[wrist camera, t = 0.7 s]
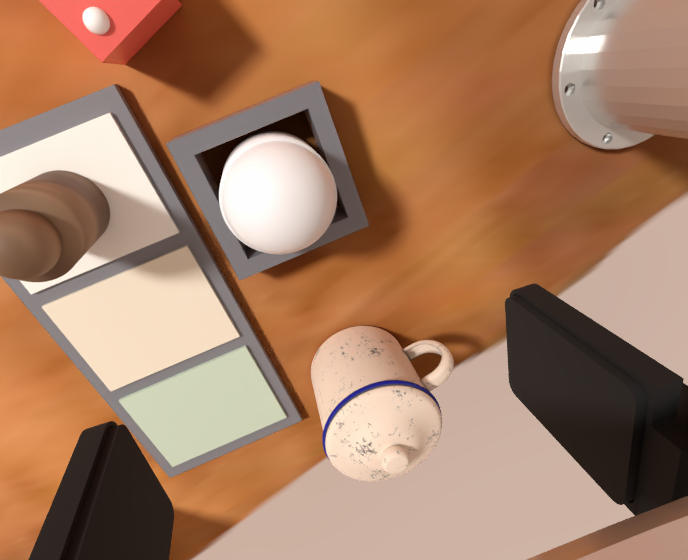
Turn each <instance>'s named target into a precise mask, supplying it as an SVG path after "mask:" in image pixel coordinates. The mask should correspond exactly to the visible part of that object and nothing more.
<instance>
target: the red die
mask: <svg viewBox="0 0 688 560" xmlns="http://www.w3.org/2000/svg"><path fill="white" fill-rule="evenodd" d="M39 1H40V2H41V3H42V4H43V5H44V6H45V7H46V8H47V9H48V10H49V11H50V12H51V13H52V14H53V15H54V16H55V17H56V18H57V19H58V20H59V21H60V22H61V23H62V24H63V25H64V26H65V27H66V28H67V29H68V30H69V31H70V32H72V33H73V34H74V35H75V36H76V37H77V38H78V39H79V40H80V41H81V42H82V43H83V44H84V45H85V46H86V47H87V48H88V49H89V50H90V51H91V52H92V53H93V54H94V55H95V56H96V57H97V58H98V59H99V60H100V61H101V62H104V63H113V64H122V65H126V64H127V62H128V61H129V60H130V59H131V58H132V57H133V56H134V55H135V54H136V53H137V52H138V51H139V50H140V49H141V48H142V47H143V46H144V45H145V44H146V43H147V42H148V41H149V40H150V39H151V38H152V37H153V35H154V34H155V33H156V32H157V31H158V30H159V29H160V28H161V27H162V26H163V25H164V24H165V23H166V22H167V21H168V20H169V19H170V18H171V17H172V16H173V15H174V14H175V13H176V12H177V11H178V10H179V8H180V7H181V6H182V4H181V3H180V2H179V1H178V0H39Z"/></svg>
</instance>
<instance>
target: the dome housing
mask: <svg viewBox="0 0 688 560" xmlns="http://www.w3.org/2000/svg"><path fill="white" fill-rule="evenodd" d="M303 110H304V112H305V114H306V117H307V120H308V122H309V125H310V128H311V130H312V133H313V136H314V138H315V141H316V144H317V146H318V149H319V152H320V154H321V157H322V159H323V160H324V161H325V162H326V164H327V165H328V167H329V169H330V170H331V172H332V175H333V177H334V180H335V183H336V189H337V199H338V202H339V205H340V206H339V207H337V208H336V210H335V214H334V217H333V219H332V222H331V223H330V225H329V227H328V229H327V230H326V231H325V233H324V234H323V235H322V236H321V237H320V238H319V239H318V240H317V241H316V242H314V243H313V244H311V245H310V246H308V247H306V248H304V249H302V250H300V251H297V252H293V253H289V254H269V253H264V252H260V251H257V250H255V249H253V248H251V247H249V246H247V245H245V244H244V243H243V242H241V241H240V240H239V239H238V238H237V237H236V236H235V235H234V234H233V233H232V232H231V230H230V229H229V228H228V226H227V224H226V223H225V221H224V218H223V216H222V213H221V209H220V204H219V188H218V186H217V184H216V182H215V180H214V178H213V176H212V174H211V172H210V170H209V168H208V166H207V164H206V162H205V160H204V158H203V156H202V154H201V152H203V151H206V150H208V149H211V148H213V147H216V146H218V145H221V144H223V143H225V142H228V141H230V140H233V139H235V138H238V137H240V136H242V135H245V134H247V133H250V132H252V131H255V130H257V129H259V128H262V127H264V126H267V125H269V124H272V123H274V122H276V121H279V120H281V119H284V118H286V117H289V116H291V115H293V114H296V113H298V112H301V111H303ZM166 145H167V147H168V149H169V151H170V153H171V154H172V156H173V158H174V160H175V162H176V164H177V166H178V167H179V169H180V171H181V173H182V175H183V177H184V178H185V180H186V182H187V184H188V186H189V188H190V190H191V191H192V193H193V195H194V197H195V199H196V201H197V203H198V204H199V206H200V208H201V210H202V212H203V214H204V216H205V217H206V219H207V221H208V223H209V225H210V227H211V228H212V230H213V232H214V234H215V236H216V238H217V240H218V241H219V243H220V245H221V247H222V249H223V251H224V253H225V254H226V256H227V258H228V260H229V262H230V264H231V266H232V267H233V269H234V271H235V273H236V275H237V277H238V279H239V280H242V279H244V278H247V277H249V276H252V275H254V274H256V273H259V272H261V271H263V270H266V269H268V268H271V267H273V266H275V265H278V264H280V263H282V262H285V261H287V260H289V259H292V258H294V257H297V256H299V255H301V254H304V253H306V252H308V251H311V250H313V249H316V248H318V247H320V246H323V245H325V244H327V243H330V242H332V241H334V240H337V239H339V238H342V237H344V236H346V235H349V234H351V233H353V232H356V231H358V230H361V229H363V228H365V227H368V226H369V223H368V220H367V217H366V214H365V212H364V209H363V206H362V203H361V200H360V197H359V195H358V192H357V189H356V186H355V183H354V180H353V177H352V175H351V172H350V169H349V166H348V163H347V160H346V157H345V155H344V152H343V149H342V146H341V143H340V140H339V137H338V135H337V132H336V129H335V126H334V123H333V120H332V117H331V115H330V112H329V109H328V106H327V103H326V100H325V97H324V95H323V92H322V89H321V86H320V83H319V81H311V82H308V83H306V84H303V85H301V86H298V87H296V88H294V89H291V90H289V91H286V92H284V93H281V94H279V95H276V96H274V97H272V98H269V99H267V100H264V101H262V102H259V103H257V104H254V105H252V106H250V107H247V108H245V109H242V110H240V111H237V112H235V113H233V114H230V115H228V116H225V117H223V118H220V119H218V120H215V121H213V122H211V123H208V124H206V125H203V126H201V127H198V128H196V129H193V130H191V131H189V132H186V133H184V134H181V135H179V136H176V137H174V138H172V139H171V140H170V141H169V142H168V143H166Z"/></svg>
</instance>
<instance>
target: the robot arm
mask: <svg viewBox="0 0 688 560" xmlns="http://www.w3.org/2000/svg"><path fill="white" fill-rule="evenodd" d="M552 91H553V99H554V103H555V107H556V111H557V114H558V116H559V118H560V120H561V122H562V124H563V125H564V127H565V128H566V129H567V130H568V132H569V133H570V134H571V135H572V136H573V137H575V138H576V139H577V140H579V141H580V142H582V143H584V144H587V145H590V146H592V147H597V148H602V149H622V148H627V147H631V146H634V145H636V144H639V143H641V142H643V141H646V140H647V139H649V138H650V137H652V136H654V135H662V136H670V137H677V138H684V139H688V0H581V1H580V3H579V4H578V5H577V7H576V8H575V9H574V11H573V13H572V15H571V16H570V18H569V20H568V22H567V23H566V25H565V28H564V30H563V33H562V35H561V38H560V40H559V43H558V46H557V50H556V54H555V58H554V62H553V73H552ZM505 311H506V331H507V349H508V350H507V351H508V369H509V383H510V387H511V389H512V391H513V393H514V394H515V395H516V397H517V398H518V399H519V400H520V401H521V402H522V403H523V404H524V405H525V406H526V407H527V408H528V410H529V411H530V412H531V413H532V414H533V415H534V416H535V417H536V418H537V419H538V420H539V421H540V422H541V424H542V425H543V426H544V427H545V428H546V429H547V430H548V431H549V432H550V433H551V434H552V435H553V437H554V438H555V439H556V440H557V441H558V442H559V443H560V444H561V445H562V446H563V447H564V448H565V449H566V450H567V452H568V453H569V454H570V455H571V456H572V457H573V458H574V459H575V460H576V461H577V462H578V463H579V464H580V466H581V467H582V468H583V469H584V470H585V471H586V472H587V473H588V474H589V475H590V476H591V477H592V478H593V480H595V482H596V483H597V484H598V485H599V486H600V487H601V488H602V489H603V490H604V491H605V492H606V494H607V495H608V496H609V497H610V498H611V499H612V500H613V501H614V502H616V503H617V504H620V505H622V504H625V505H626V506H627V508H628V509H629V510H630V511H631V512H632V513H633V514H634V515H635V516H634V517H631V518H629V519H626V520H623V521H621V522H618V523H616V524H613V525H611V526H608V527H606V528H603V529H601V530H598V531H596V532H593V533H591V534H588V535H586V536H583V537H581V538H579V539H576V540H574V541H571V542H569V543H566V544H564V545H561V546H559V547H556V548H554V549H552V550H549V551H547V552H544V553H542V554H540V555H537V556H534V557H532V558H529V559H527V560H688V386H687V385H685V384H684V383H683V378H682V377H680V376H679V375H677V374H675V373H674V372H672V371H671V370H669V369H668V368H666V367H664V366H663V365H661V364H660V363H658V362H657V361H655V360H654V359H652V358H651V357H649V356H648V355H646V354H644V353H643V352H641V351H640V350H638V349H637V348H635V347H634V346H632V345H630V344H629V343H627V342H626V341H624V340H623V339H621V338H620V337H618V336H617V335H615V334H613V333H612V332H610V331H608V330H607V329H606V328H604V327H603V326H601V325H599V324H598V323H596V322H595V321H593V320H592V319H590V318H589V317H587V316H586V315H584V314H582V313H581V312H579V311H578V310H576V309H575V308H573V307H571V306H570V305H568V304H567V303H565V302H564V301H562V300H561V299H559V298H558V297H556V296H555V295H553V294H551V293H550V292H548V291H547V290H545V289H544V288H542V287H541V286H539V285H537V284H531V285H527V286H524V287H521V288H518V289H515V290H513V291H512V292H511V293H510V297H509V298H507V299H506V301H505ZM173 521H174V511H173V506H172V503H171V501H170V499H169V497H168V496H167V494H166V492H165V491H164V489H163V487H162V486H161V484H160V482H159V481H158V479H157V477H156V476H155V474H154V472H153V471H152V469H151V467H150V465H149V464H148V462H147V460H146V459H145V457H144V455H143V454H142V452H141V450H140V449H139V447H138V445H137V444H136V442H135V440H134V439H133V437H132V435H131V434H130V432H129V430H128V429H127V427H126V426H125V425H119V426H118V425H117V424H116V423H115V422H113V421H110V422H107V423H104V424H100V425H97V426H94V427H91V428H88V429H85V430H84V431H83V432H82V433H81V435H80V437H79V440H78V442H77V445H76V447H75V449H74V452H73V454H72V457H71V459H70V462H69V464H68V466H67V469H66V471H65V474H64V476H63V478H62V481H61V483H60V486H59V488H58V490H57V493H56V495H55V498H54V500H53V503H52V505H51V507H50V510H49V512H48V515H47V517H46V519H45V521H44V524H43V526H42V529H41V531H40V534H39V536H38V538H37V541H36V543H35V546H34V548H33V550H32V553H31V555H30V558H29V560H169V554H170V545H171V537H172V529H173Z"/></svg>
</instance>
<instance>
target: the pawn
mask: <svg viewBox="0 0 688 560" xmlns="http://www.w3.org/2000/svg"><path fill="white" fill-rule="evenodd" d="M109 221H110V208H109V204H108V202H107V199H106V197H105V196H104V194H103V193H102V191H101V190H100V189H99V188H98V187H97V186H96V185H95V184H94V183H93V182H92V181H90V180H89V179H87V178H86V177H84V176H82V175H79V174H77V173H74V172H70V171H63V170H55V171H49V172H45V173H42V174H40V175H38V176H36V177H34V178H32V179H30V180H28V181H26V182H24V183H21V184H19V185H17V186H15V187H13V188H11V189H9V190H7V191H5V192H3V193H0V276H3V277H6V278H10V279H17V280H21V281H26V282H47V281H51V280H54V279H57V278H59V277H61V276H63V275H65V274H66V273H68V272H69V271H70V270H71V269H72V268H73V267H74V266H75V264H76V263H77V262H78V261H79V260H80V259H81V258H82V257H83V256H84V254H85V253H86V252H87V251H88V250H89V249H90V248H91V247H92V246H93V244H94V243H95V242H96V241H97V240H98V239H99V238H100V237H101V236H102V234H103V233H104V232H105V231H106V229H107V227H108V224H109Z"/></svg>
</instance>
